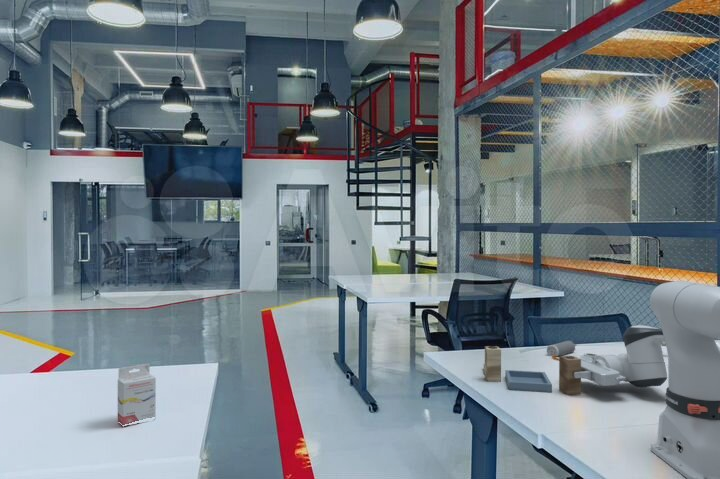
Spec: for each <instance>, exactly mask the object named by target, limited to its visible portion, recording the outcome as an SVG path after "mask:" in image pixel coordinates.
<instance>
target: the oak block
mask: <svg viewBox="0 0 720 479" xmlns="http://www.w3.org/2000/svg"><path fill="white" fill-rule="evenodd" d="M484 364H485V374H484V379H485V380H486V382H487V383H488V382H489V383H494V382H495V383H498V382H499V383H500V382H502V349H501V348H500V347H499V346H497V345H495V346H494V345H487V346H484Z"/></svg>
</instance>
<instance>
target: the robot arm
mask: <svg viewBox="0 0 720 479" xmlns="http://www.w3.org/2000/svg"><path fill="white" fill-rule="evenodd" d="M649 306H650V309H651V310H652V312H653V313H654V315H655V316H656V318H657V320H658V323H659V325H660V328H659V327H654V326H649V325H645V324H644V325H642V324H637V325H632V326H630V327H627V329H626V330H625V331H624V333H623V335H622V340H623V343H624V347H625V349H626V353H621V354H619V353H618V354H593V353H583V355H573V356H574V357H576V358H579V359H581V372H578V371H573V372H572V376H573V377H574V378H581V379H582V380H584V379H586V380H589V381H591V382H593V383H595V384H597V385H600V386H604V387H607V386H614V385H618V384H620V383H621V382H626V383H629V384H630V385H632V386H634V387H636V388H647V387H649V388H650V387H661V386H662V385H663V384H664V383H665V382H666V381H668V385H667V387H666V388H665V391H666V392H665V404H666V407H665V409H664V410H663V411H662V412H661V413H660V414H659V416H658V428H657V440H656V443H653V444H651V445H650V449H651V450H650V451H651V452H652V453H654V454H655V455H656V456H657V457H659V458H660V459H661V460H663V461H664V462H665V463H666V464H667V465H669V466H670V467H672V468H673V469H674V470H676V471H677V472H678V473H679V474H681V475H682V476H684V477H685V478H686V479H720V286H718V285H710V284H704V283H696V282H692V281H684V280H675V281H669V282H668V281H667V282H663V283H661V284H659V285H657V286H656V287H655V288H654V289H653V290H652V292H651V293H650V297H649ZM662 342H665V343H666V346H665V347H666V353H667V359H668V361H667V362H668V367H667V368H666V361H665V359H664V354H663V350H662V346H661V343H662ZM667 369H668V373H667Z"/></svg>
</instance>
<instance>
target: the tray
mask: <svg viewBox="0 0 720 479" xmlns="http://www.w3.org/2000/svg"><path fill="white" fill-rule="evenodd" d="M504 371H505V373H504V374H505V375H504V376H505V380H506V384H507V387H508V388H507V389H508V390H509V391H523V392H535V393H536V392H540V393H541V392H542V393H553V385H552V382H551V380H550V379H549V377H548V375H547V374H546V372H545V371H530V370H514V369H513V370H511V369H510V370H509V369H505V370H504Z"/></svg>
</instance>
